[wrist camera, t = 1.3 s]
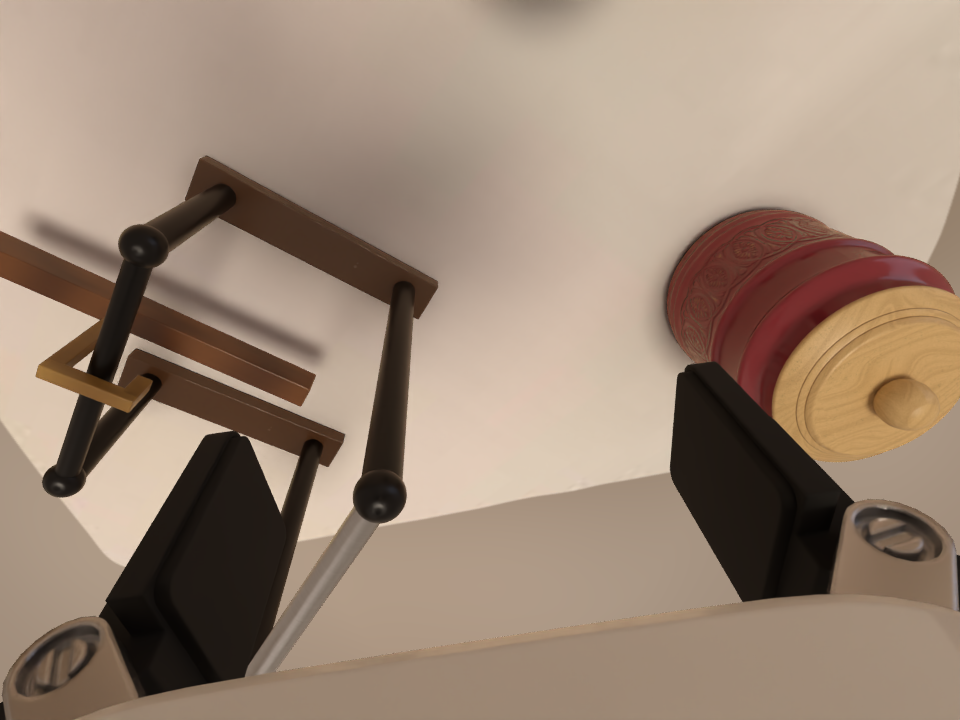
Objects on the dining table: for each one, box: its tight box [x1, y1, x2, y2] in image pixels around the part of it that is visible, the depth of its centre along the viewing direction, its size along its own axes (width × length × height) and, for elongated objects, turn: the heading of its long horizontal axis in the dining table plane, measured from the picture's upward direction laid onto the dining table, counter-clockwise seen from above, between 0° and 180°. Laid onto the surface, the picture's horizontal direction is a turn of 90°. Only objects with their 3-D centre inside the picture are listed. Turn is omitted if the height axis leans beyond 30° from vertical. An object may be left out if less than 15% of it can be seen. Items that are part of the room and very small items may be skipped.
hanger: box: [0, 231, 316, 413], centre depth 30 cm, size 20×2×9 cm, turn 58°
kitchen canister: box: [667, 209, 960, 462], centre depth 34 cm, size 13×13×18 cm
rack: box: [42, 156, 438, 677], centre depth 30 cm, size 17×19×23 cm
